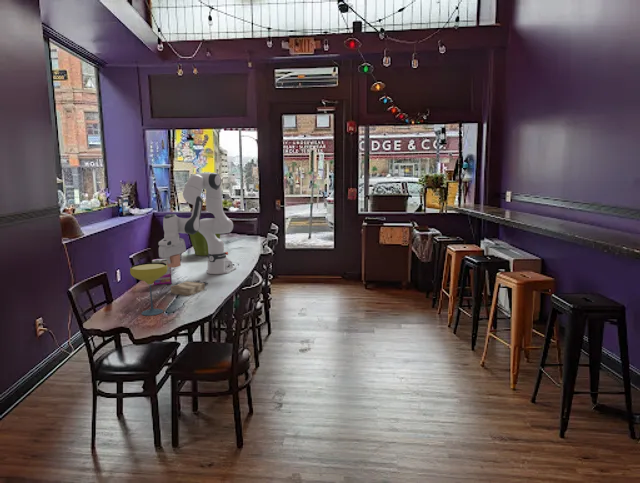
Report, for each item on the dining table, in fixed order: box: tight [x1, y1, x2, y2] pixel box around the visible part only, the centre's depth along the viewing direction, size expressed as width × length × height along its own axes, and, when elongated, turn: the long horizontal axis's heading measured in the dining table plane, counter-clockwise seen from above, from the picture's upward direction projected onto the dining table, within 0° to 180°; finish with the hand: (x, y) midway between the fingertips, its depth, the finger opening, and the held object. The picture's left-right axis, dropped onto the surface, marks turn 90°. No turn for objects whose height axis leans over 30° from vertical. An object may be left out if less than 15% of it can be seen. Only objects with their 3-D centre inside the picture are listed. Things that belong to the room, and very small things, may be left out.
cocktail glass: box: [129, 261, 167, 317], centre depth 234 cm, size 18×18×25 cm
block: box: [167, 255, 181, 269], centre depth 282 cm, size 6×6×7 cm
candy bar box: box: [151, 258, 173, 286], centre depth 293 cm, size 11×5×16 cm, turn 105°
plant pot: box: [189, 231, 221, 257], centre depth 390 cm, size 30×30×29 cm
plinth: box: [170, 280, 206, 297], centre depth 275 cm, size 14×14×4 cm
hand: (173, 262), depth 282 cm, fingers closed on block, 5 cm apart
